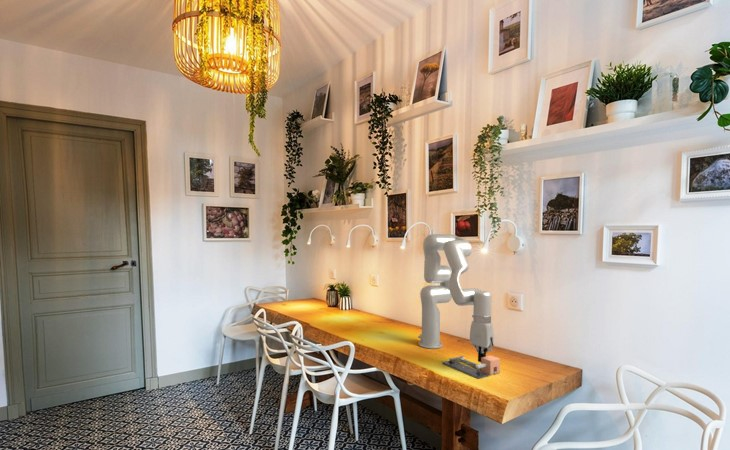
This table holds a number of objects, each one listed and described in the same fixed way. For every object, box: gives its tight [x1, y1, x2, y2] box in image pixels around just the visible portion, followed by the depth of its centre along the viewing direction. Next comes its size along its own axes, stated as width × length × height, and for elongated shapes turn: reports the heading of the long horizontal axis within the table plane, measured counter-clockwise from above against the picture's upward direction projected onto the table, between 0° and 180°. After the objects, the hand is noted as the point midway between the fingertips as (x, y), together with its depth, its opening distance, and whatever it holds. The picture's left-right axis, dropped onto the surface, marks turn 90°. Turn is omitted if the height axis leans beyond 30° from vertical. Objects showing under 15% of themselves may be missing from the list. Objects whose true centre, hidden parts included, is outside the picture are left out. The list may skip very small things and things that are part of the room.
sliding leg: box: [475, 355, 501, 376], centre depth 161 cm, size 5×12×6 cm, turn 122°
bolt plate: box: [442, 360, 489, 380], centre depth 165 cm, size 21×6×1 cm, turn 32°
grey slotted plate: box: [448, 355, 498, 375], centre depth 167 cm, size 21×9×2 cm, turn 32°
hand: (481, 361), depth 166 cm, fingers closed
